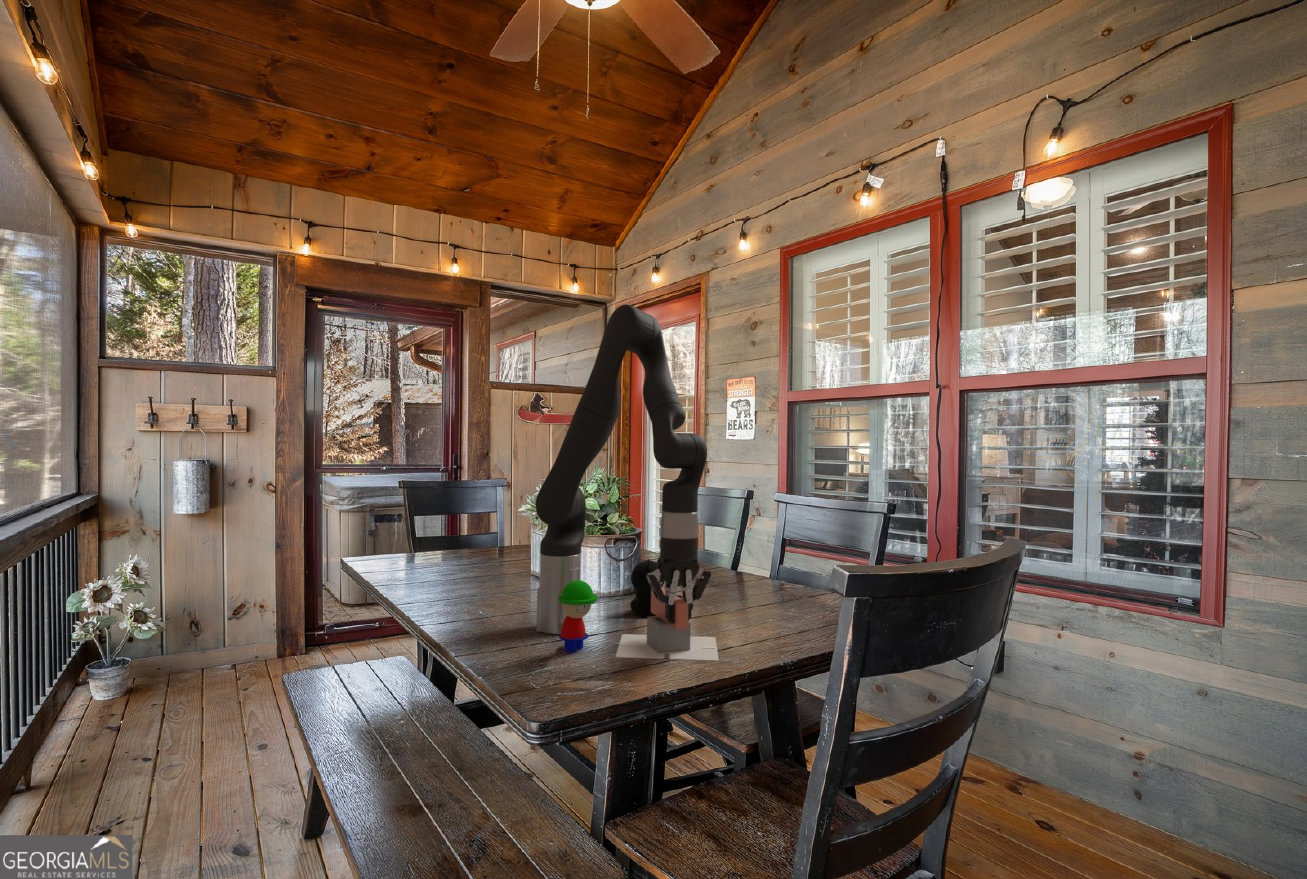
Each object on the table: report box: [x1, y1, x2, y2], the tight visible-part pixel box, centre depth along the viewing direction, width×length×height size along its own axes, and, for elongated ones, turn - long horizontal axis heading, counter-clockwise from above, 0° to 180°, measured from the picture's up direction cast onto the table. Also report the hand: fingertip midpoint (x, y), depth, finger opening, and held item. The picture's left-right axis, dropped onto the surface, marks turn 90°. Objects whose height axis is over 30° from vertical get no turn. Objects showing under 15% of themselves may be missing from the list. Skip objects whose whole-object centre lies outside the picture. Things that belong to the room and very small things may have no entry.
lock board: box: [614, 620, 720, 662], centre depth 134 cm, size 20×15×6 cm
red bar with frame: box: [646, 587, 692, 653], centre depth 134 cm, size 14×7×10 cm, turn 21°
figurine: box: [629, 556, 694, 618], centre depth 165 cm, size 16×14×15 cm
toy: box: [558, 580, 599, 654], centre depth 131 cm, size 8×8×15 cm
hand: (677, 621), depth 130 cm, fingers closed on red bar with frame, 2 cm apart
